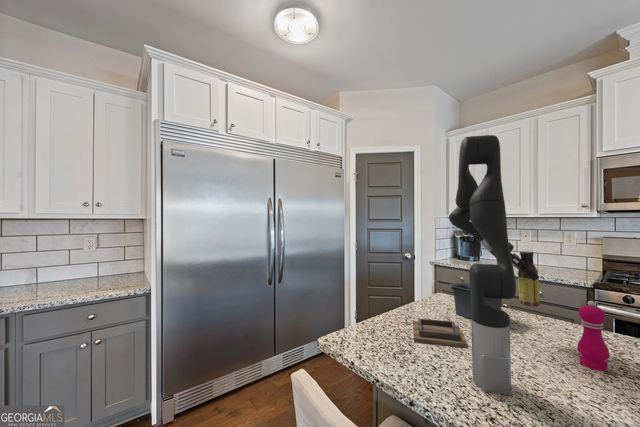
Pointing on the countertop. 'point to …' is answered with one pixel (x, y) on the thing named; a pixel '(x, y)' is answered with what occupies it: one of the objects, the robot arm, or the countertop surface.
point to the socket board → (438, 333)
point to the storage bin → (468, 299)
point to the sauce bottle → (528, 282)
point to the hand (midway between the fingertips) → (533, 277)
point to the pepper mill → (592, 338)
